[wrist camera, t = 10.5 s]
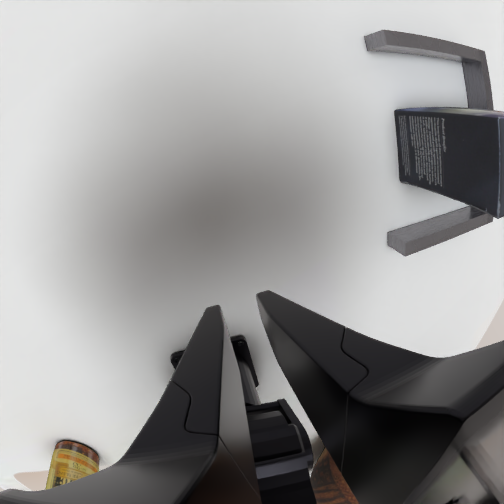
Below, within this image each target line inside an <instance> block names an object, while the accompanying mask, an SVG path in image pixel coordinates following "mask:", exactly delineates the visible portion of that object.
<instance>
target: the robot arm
mask: <svg viewBox="0 0 504 504" xmlns="http://www.w3.org/2000/svg"><path fill="white" fill-rule="evenodd" d="M256 299H257V303H258V307H259V312H260V316H261V319H262V322H263V325H264V328H265V331H266V333H267V336H268V339H269V341H270V344H271V347H272V349H273V352H274V355H275V357H276V359H277V362H278V364H279V366H280V367H281V369H282V371H283V373H284V375H285V377H286V378H287V380H288V382H289V384H290V386H291V387H292V389H293V391H294V393H295V395H296V396H297V398H298V400H299V402H300V403H301V405H302V407H303V409H304V410H305V412H306V414H307V416H308V418H309V419H310V421H311V423H312V425H313V426H314V428H315V430H316V431H317V433H318V435H319V437H320V438H321V440H322V442H323V444H324V445H325V447H326V449H327V450H328V452H329V454H330V456H331V457H332V459H333V461H334V462H335V464H336V466H337V467H338V469H339V471H340V472H341V473H342V476H343V478H344V479H345V481H346V483H347V484H348V486H349V488H350V489H351V491H352V493H353V494H354V496H355V497H356V499H357V501H358V502H359V504H504V341H501V342H498V343H495V344H492V345H489V346H486V347H483V348H479V349H476V350H473V351H469V352H466V353H462V354H459V355H455V356H451V357H445V358H435V357H429V356H425V355H422V354H419V353H415V352H412V351H409V350H406V349H403V348H399V347H396V346H393V345H390V344H387V343H384V342H381V341H378V340H376V339H373V338H370V337H368V336H365V335H363V334H361V333H358V332H356V331H354V330H352V329H350V328H346V327H345V326H343V325H341V324H339V323H336V322H334V321H332V320H330V319H328V318H326V317H324V316H322V315H319V314H317V313H315V312H313V311H311V310H309V309H307V308H305V307H303V306H301V305H298V304H296V303H294V302H292V301H290V300H288V299H286V298H284V297H282V296H280V295H278V294H276V293H274V292H272V291H269V290H267V291H264V292H260V293H258V294H256ZM240 341H242V342H241V343H238V342H240ZM176 358H177V359H178V360H175V359H176ZM171 363H172V365H173V367H174V369H175V372H174V374H173V376H172V378H171V381H170V382H169V384H168V386H167V388H166V390H165V392H164V393H163V395H162V397H161V399H160V401H159V403H158V405H157V406H156V408H155V409H154V411H153V413H152V414H151V416H150V417H149V419H148V420H147V422H146V423H145V425H144V426H143V428H142V430H141V431H140V433H139V434H138V436H137V437H136V439H135V440H134V442H133V443H132V445H131V446H130V448H129V449H128V450H127V452H126V453H125V454H124V456H123V457H122V458H121V459H120V460H119V461H118V462H116V463H115V464H113V465H112V466H110V467H108V468H106V469H104V470H101V471H98V472H96V473H93V474H91V475H88V476H86V477H83V478H80V479H77V480H75V481H72V482H69V483H66V484H63V485H60V486H57V487H54V488H50V489H47V490H41V491H23V490H17V489H7V490H5V491H2V492H0V504H317V501H316V498H315V495H314V491H313V488H312V485H311V481H310V476H309V470H311V469H312V466H313V453H312V447H311V443H310V440H309V437H308V434H307V432H306V430H305V428H304V427H303V425H302V424H301V422H300V421H299V419H298V418H297V416H296V415H295V414H294V412H293V411H292V409H291V408H290V406H289V405H288V403H287V402H286V400H285V399H280V400H277V401H275V402H270V403H264V404H261V402H260V399H259V396H258V393H257V390H256V387H257V386H258V385H259V383H258V380H257V376H256V373H255V370H254V366H253V363H252V359H251V356H250V353H249V349H248V346H247V342H246V339H245V338H244V337H243V336H238V337H234V338H231V339H230V336H229V333H228V329H227V326H226V323H225V320H224V317H223V313H222V310H221V307H220V306H219V305H215V306H212V307H208V308H206V310H205V312H204V314H203V316H202V318H201V320H200V322H199V324H198V326H197V328H196V330H195V332H194V334H193V336H192V338H191V340H190V342H189V344H188V346H187V348H186V350H185V351H182V352H178V353H174V354H172V355H171Z"/></svg>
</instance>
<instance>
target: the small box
mask: <svg viewBox="0 0 504 504" xmlns="http://www.w3.org/2000/svg"><path fill="white" fill-rule="evenodd" d="M395 121H396V132H397V143H398V156H399V172H400V181H401V182H402V183H405V184H410V185H413V186H417V187H420V188H423V189H426V190H429V191H432V192H435V193H438V194H441V195H444V196H446V197H449V198H452V199H454V200H458V201H460V202H463V203H465V204H467V205H470V206H472V207H475V208H477V209H479V210H481V211H483V212H485V213H488V214H489V215H491V216H493V217H495V218H497V219H499V218H501V217H504V112H502V111H495V110H486V109H475V108H455V107H424V108H408V109H398V110H395Z"/></svg>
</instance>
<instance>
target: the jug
mask: <svg viewBox="0 0 504 504" xmlns="http://www.w3.org/2000/svg"><path fill="white" fill-rule="evenodd" d="M310 481H311V485H312V488H313V491H314V495H315V498H316V501H317V504H359V502H358V501H357V499H356V497H355V496H354V494H353V493H352V491H351V489H350V488H349V486H348V484H347V483H346V481H345V479H344V478H343V476H342V473H341V472H340V471H339V469H338V467H337V466H336V464H335V462H334V461H333V459H332V457H331V456H330V454H329V452H328V450H327V449H326V447H325V449H324V451H323V452H322V454H321V456H320V457H319V459H318V461H317V463H316V465H315V467H314V469H313V471H312V474H311V477H310Z"/></svg>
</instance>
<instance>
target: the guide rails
mask: <svg viewBox="0 0 504 504" xmlns="http://www.w3.org/2000/svg"><path fill="white" fill-rule="evenodd" d="M364 38H365V42H366V46H367V51H384V52H397V53H407V54H416V55H423V56H431V57H437V58H443V59H449V60H454V61H459V62H462V65H463V70H464V76H465V83H466V90H467V97H468V106H469V108H475V109H486V110H493V100H492V92H491V84H490V78H489V72H488V66H487V61H486V55H485V51H482V50H479V49H476V48H472V47H469V46H465V45H461V44H458V43H454V42H450V41H445V40H441V39H437V38H432V37H427V36H422V35H416V34H410V33H404V32H397V31H389V30H381V31H378V32H375V33H373V34H370V35H367V36H364ZM492 221H493V216H491V215H489V214H488V213H485V212H483V211H481V210H479V209H477V208H475V207H472V206H468V207H465V208H462V209H459V210H456V211H453V212H450V213H447V214H444V215H441V216H438V217H435V218H432V219H428V220H425V221H422V222H419V223H416V224H413V225H410V226H406V227H403V228H400V229H397V230H394V231H391V232H388V246H390V247H392V248H393V249H395V250H396V251H398V252H399V253H401V254H402V255H404V256H408V255H411V254H413V253H416V252H418V251H421V250H424V249H426V248H429V247H431V246H434V245H437V244H439V243H442V242H444V241H447V240H449V239H452V238H454V237H457V236H459V235H461V234H464V233H466V232H469V231H471V230H474V229H476V228H478V227H481V226H483V225H485V224H488V223H490V222H492Z"/></svg>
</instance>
